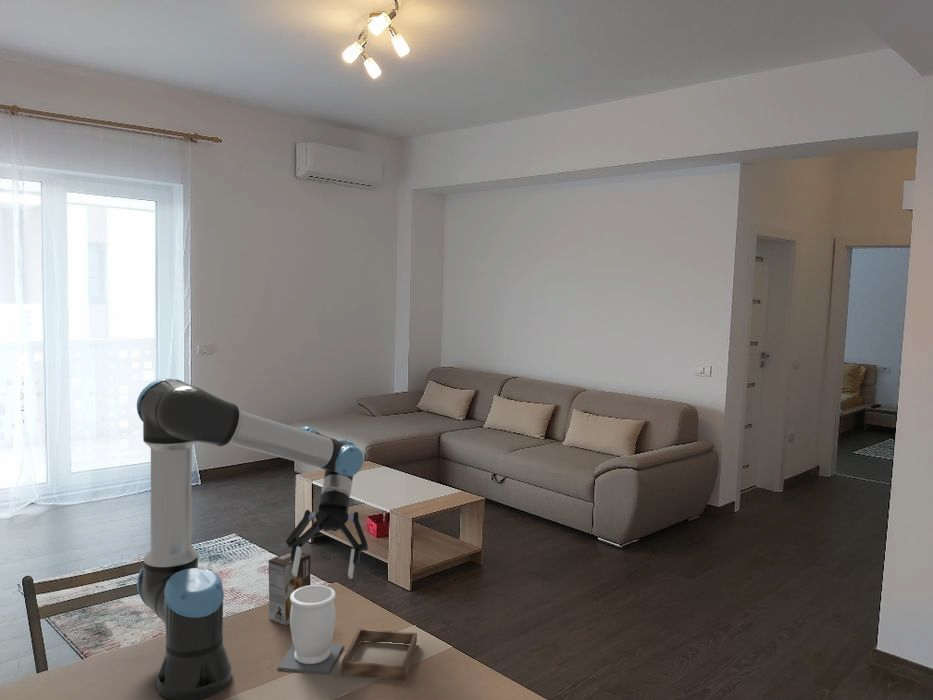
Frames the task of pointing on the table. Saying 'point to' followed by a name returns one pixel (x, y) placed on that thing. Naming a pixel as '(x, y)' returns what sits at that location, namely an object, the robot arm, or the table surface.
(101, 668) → the table surface
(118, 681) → the table surface
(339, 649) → the pad
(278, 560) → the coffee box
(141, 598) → the robot arm
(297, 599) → the jar
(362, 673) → the collar
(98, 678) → the table surface
